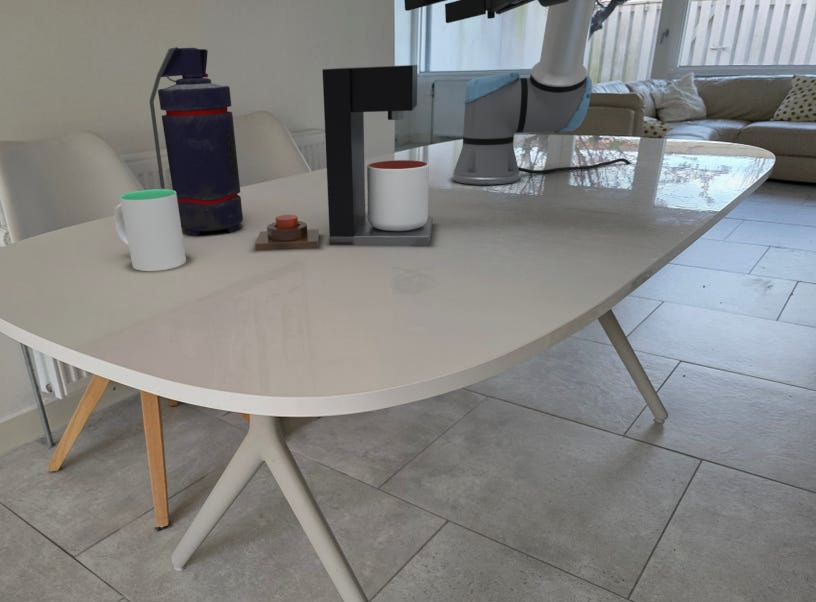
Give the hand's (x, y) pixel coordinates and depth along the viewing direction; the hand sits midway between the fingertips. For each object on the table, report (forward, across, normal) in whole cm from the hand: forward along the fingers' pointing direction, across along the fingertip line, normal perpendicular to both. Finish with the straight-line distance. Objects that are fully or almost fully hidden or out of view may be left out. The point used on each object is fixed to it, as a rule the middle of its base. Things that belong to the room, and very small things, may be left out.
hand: (426, 7), depth 95 cm
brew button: (+19, -16, -31) cm, 40 cm away
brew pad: (+20, -16, -33) cm, 42 cm away
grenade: (+39, -15, -31) cm, 52 cm away
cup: (+6, -3, -33) cm, 33 cm away
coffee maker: (+8, -4, -34) cm, 35 cm away
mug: (+32, -34, -34) cm, 58 cm away
